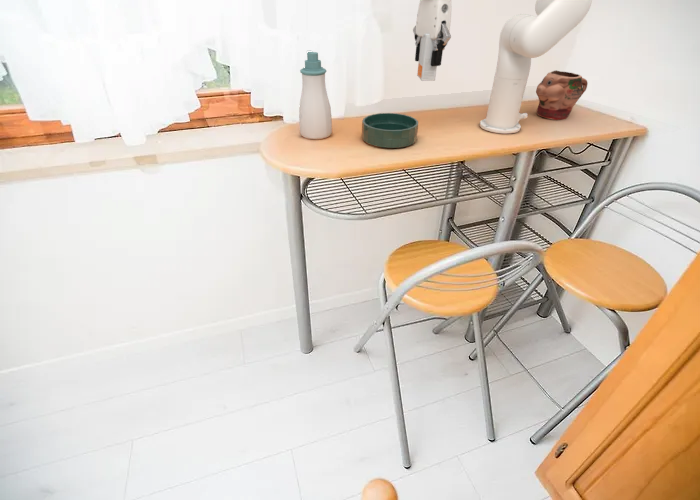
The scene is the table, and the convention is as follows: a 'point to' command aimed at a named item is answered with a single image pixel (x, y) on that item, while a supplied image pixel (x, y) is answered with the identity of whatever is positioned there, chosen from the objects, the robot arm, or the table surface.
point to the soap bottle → (314, 101)
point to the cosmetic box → (426, 59)
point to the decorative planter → (559, 94)
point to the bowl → (389, 130)
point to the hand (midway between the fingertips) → (427, 62)
